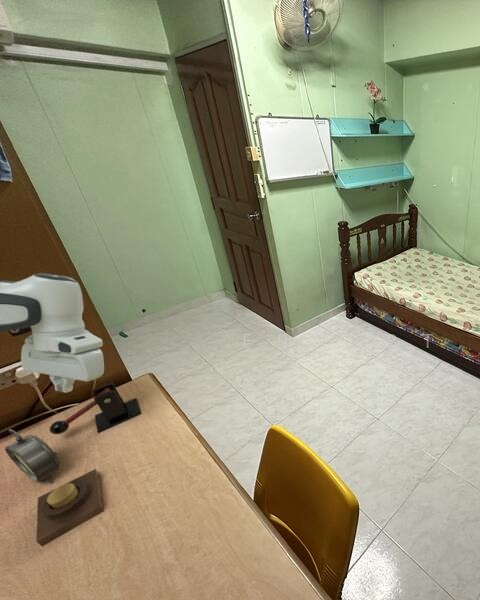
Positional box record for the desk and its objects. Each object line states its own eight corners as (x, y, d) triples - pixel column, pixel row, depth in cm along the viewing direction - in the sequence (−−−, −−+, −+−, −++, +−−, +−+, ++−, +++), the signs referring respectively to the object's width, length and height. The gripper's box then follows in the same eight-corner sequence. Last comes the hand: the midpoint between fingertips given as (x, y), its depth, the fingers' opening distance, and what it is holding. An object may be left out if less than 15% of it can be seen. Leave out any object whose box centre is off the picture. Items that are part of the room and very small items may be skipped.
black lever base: (99, 434, 89) (80, 407, 83) (96, 417, 93) (79, 391, 88) (142, 415, 95) (127, 389, 89) (137, 400, 100) (123, 374, 94)
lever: (58, 439, 84) (45, 433, 82) (58, 431, 86) (45, 425, 84) (117, 397, 90) (106, 391, 88) (115, 391, 93) (105, 384, 90)
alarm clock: (23, 474, 78) (-18, 431, 70) (51, 456, 83) (15, 413, 75) (47, 491, 75) (7, 448, 67) (75, 471, 79) (40, 428, 71)
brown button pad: (42, 546, 65) (31, 537, 63) (43, 502, 72) (33, 493, 70) (104, 511, 71) (96, 501, 69) (99, 474, 79) (91, 464, 77)
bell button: (51, 513, 67) (46, 508, 66) (51, 497, 70) (46, 492, 69) (79, 498, 70) (74, 493, 69) (78, 484, 73) (73, 479, 72)
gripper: (8, 336, 76) (14, 389, 78) (80, 348, 73) (83, 403, 75) (41, 330, 82) (45, 379, 84) (108, 341, 79) (111, 391, 81)
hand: (64, 391), depth 80 cm, fingers closed
